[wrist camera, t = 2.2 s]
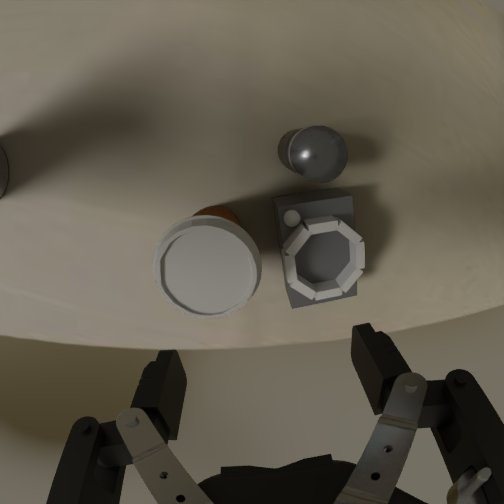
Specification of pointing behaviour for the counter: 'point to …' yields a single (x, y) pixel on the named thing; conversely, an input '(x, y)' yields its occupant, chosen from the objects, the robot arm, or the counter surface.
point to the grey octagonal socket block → (319, 246)
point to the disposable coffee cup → (207, 264)
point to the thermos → (314, 153)
